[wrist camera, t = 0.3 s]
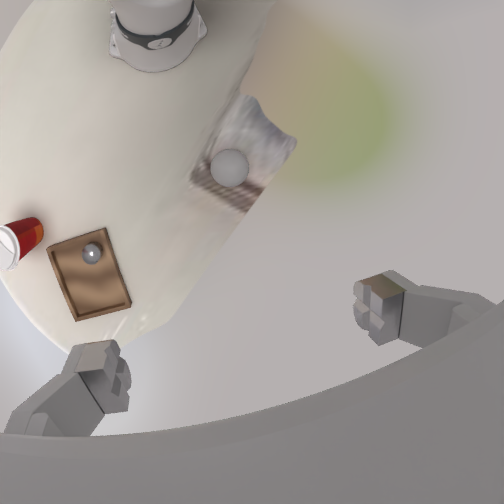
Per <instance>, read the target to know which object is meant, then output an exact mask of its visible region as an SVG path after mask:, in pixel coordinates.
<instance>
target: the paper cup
mask: <svg viewBox="0 0 504 504" xmlns="http://www.w3.org/2000/svg"><path fill="white" fill-rule="evenodd" d="M42 237H43V227H42V224H41V223H40V221H39V220H38V219H36V218H33V217H31V218H26V219H22V220H19V221H15V222H12V223H9V224H6V225H0V270H3V271H9V270H13V269H14V268H15V267H16V266H17V265H18V261H19V260H20V259H22V258H23V257H24V256H25V255H26V254H27V253H28V252H29V251H31V250H32V249H33V248H34V247H35V246H36V245H37V244H38V243H39V242H40V241H41V240H42Z"/></svg>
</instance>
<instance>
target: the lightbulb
mask: <svg viewBox="0 0 504 504" xmlns="http://www.w3.org/2000/svg"><path fill="white" fill-rule="evenodd" d="M248 173H249V163H248V160H247V158H246V157H245V156H244V154H243V153H241V152H240V151H238V150H235V149H226V150H223V151H221V152H219V153H218V154H216V155H215V157H214V158H213V160H212V162H211V174H212V176H213V178H214V180H215V181H216V182H217V183H219V184H220V185H222V186H226V187H234V186H237V185H239V184H241V183H242V182H243V181H244V180H245V179H246V178H247V176H248Z"/></svg>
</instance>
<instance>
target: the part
mask: <svg viewBox="0 0 504 504" xmlns="http://www.w3.org/2000/svg"><path fill="white" fill-rule="evenodd" d="M102 255H103V248H102V246H101V245H100V244H99V243H98V242H90V243H89V244H88V245H87V246H86V247H85V248H84V249H83V250H82V259H83V260H84V262H85V263H87V264H89V265H94V264H96V263H97V262H98V261H99V259H100V258H101V257H102Z"/></svg>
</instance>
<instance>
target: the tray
mask: <svg viewBox="0 0 504 504" xmlns="http://www.w3.org/2000/svg"><path fill="white" fill-rule="evenodd" d="M90 242H98V243H99V244H100V245H101V246H102V248H103V255H102V257H101V258H100V259H99V261H98V262H97V263H96V264H94V265H89V264H87V263H85V262H84V260H83V259H82V250H83V249H84V248H85V247H86V246H87V245H88V244H89V243H90ZM46 250H47V253H48V256H49V259H50V262H51V264H52V267H53V270H54V272H55V275H56V278H57V280H58V283H59V285H60V288H61V290H62V292H63V295H64V297H65V299H66V302H67V304H68V306H69V309H70V311H71V313H72V315H73V317H74V320H75V322H77V321H81V320H85V319H89V318H93V317H97V316H101V315H104V314H108V313H112V312H116V311H120V310H124V309H127V308H131V304H132V302H131V300H130V297H129V294H128V292H127V289H126V286H125V284H124V281H123V278H122V275H121V273H120V270H119V267H118V264H117V261H116V258H115V255H114V252H113V249H112V246H111V243H110V240H109V237H108V233H107V230H106V228H103V229H99V230H96V231H93V232H90V233H87V234H84V235H81V236H78V237H75V238H72V239H69V240H66V241H63V242H60V243H57V244H55V245H52V246H49V247H48V248H47V249H46Z"/></svg>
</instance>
